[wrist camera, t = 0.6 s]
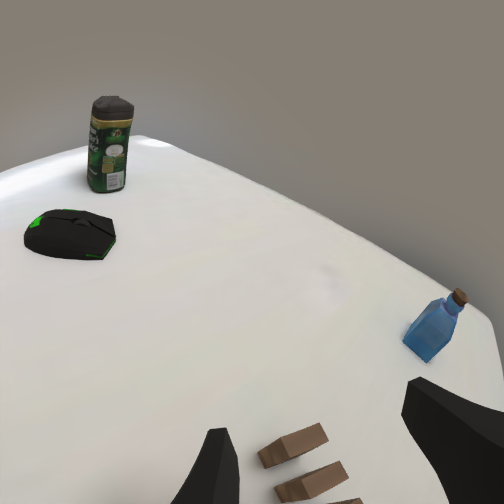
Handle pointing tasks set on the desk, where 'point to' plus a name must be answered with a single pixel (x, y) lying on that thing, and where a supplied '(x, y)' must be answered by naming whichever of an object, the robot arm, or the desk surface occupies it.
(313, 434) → the domino
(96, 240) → the computer mouse
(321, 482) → the domino
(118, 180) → the coffee jar
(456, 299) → the perfume bottle
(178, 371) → the desk surface
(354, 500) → the domino
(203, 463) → the robot arm
